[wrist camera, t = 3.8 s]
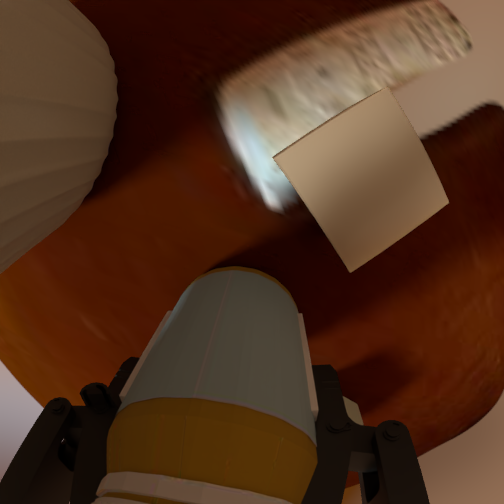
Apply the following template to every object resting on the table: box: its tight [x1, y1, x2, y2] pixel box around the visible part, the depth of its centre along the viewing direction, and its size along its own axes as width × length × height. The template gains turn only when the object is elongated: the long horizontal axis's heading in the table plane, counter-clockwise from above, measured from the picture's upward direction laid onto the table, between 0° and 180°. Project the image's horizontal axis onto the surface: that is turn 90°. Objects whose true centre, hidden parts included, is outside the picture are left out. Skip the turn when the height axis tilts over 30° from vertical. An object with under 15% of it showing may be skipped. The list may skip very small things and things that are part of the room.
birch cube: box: [272, 87, 449, 273], centre depth 12 cm, size 5×5×5 cm
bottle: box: [91, 266, 318, 504], centre depth 10 cm, size 7×7×15 cm
